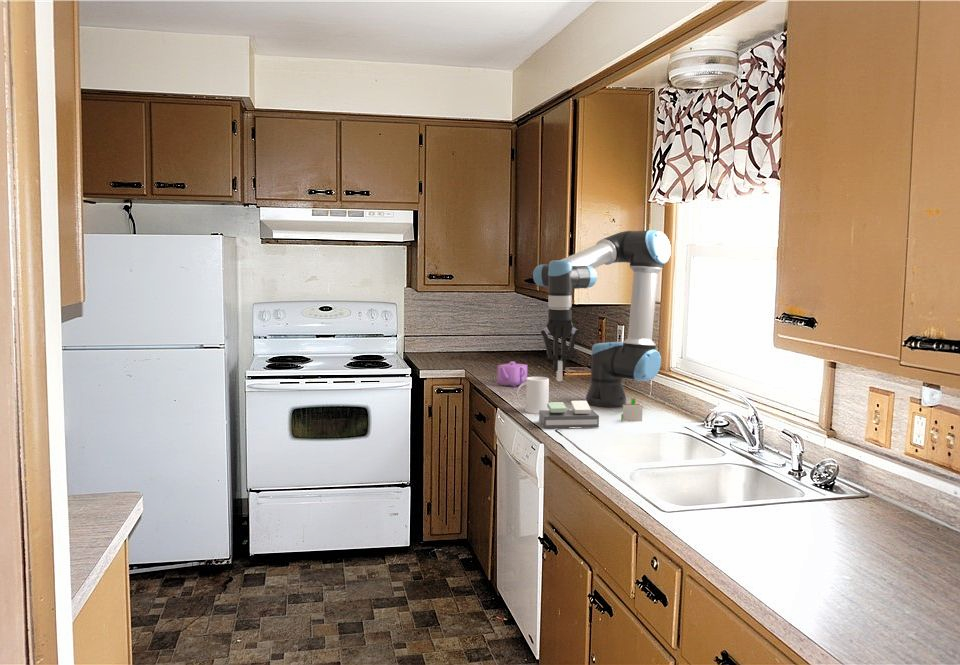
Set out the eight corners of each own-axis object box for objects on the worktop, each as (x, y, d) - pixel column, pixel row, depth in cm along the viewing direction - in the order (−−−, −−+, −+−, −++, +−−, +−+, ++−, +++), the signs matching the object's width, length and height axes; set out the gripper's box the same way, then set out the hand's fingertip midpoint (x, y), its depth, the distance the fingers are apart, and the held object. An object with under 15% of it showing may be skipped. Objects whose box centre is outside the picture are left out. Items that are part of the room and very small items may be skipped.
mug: (518, 414, 285) (518, 380, 283) (514, 409, 293) (515, 376, 292) (551, 413, 286) (551, 380, 284) (546, 408, 294) (547, 376, 293)
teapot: (512, 390, 331) (512, 365, 330) (484, 386, 339) (484, 362, 338) (535, 384, 346) (535, 360, 345) (508, 380, 354) (508, 357, 353)
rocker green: (562, 406, 271) (562, 402, 271) (566, 412, 264) (566, 408, 264) (547, 406, 271) (547, 402, 270) (550, 412, 264) (551, 408, 263)
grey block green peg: (618, 420, 278) (619, 397, 277) (637, 419, 279) (638, 396, 278) (623, 422, 274) (623, 399, 273) (642, 422, 275) (642, 398, 274)
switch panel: (591, 421, 274) (591, 406, 274) (598, 427, 264) (599, 413, 264) (539, 421, 272) (539, 407, 272) (544, 428, 262) (544, 413, 262)
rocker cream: (586, 404, 272) (586, 400, 271) (590, 413, 265) (590, 409, 265) (570, 404, 271) (571, 400, 271) (575, 413, 265) (575, 409, 264)
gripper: (577, 307, 265) (576, 377, 268) (538, 307, 264) (537, 378, 267) (582, 309, 258) (581, 382, 261) (541, 309, 257) (541, 382, 260)
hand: (559, 380), depth 264 cm, fingers closed
